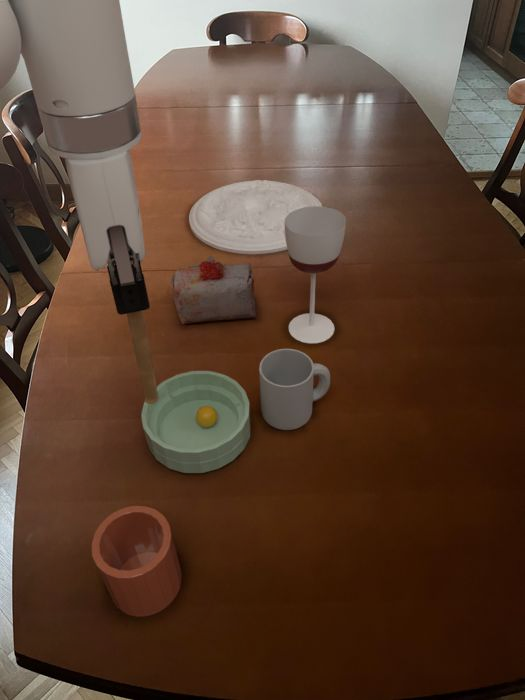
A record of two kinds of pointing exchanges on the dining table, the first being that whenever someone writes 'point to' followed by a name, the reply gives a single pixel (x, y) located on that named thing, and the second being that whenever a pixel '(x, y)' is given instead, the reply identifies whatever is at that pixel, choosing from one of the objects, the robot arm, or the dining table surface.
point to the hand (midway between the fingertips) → (132, 302)
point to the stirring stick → (143, 355)
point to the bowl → (182, 428)
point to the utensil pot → (137, 560)
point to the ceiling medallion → (248, 215)
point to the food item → (214, 292)
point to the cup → (290, 387)
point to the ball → (206, 416)
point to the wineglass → (313, 261)
